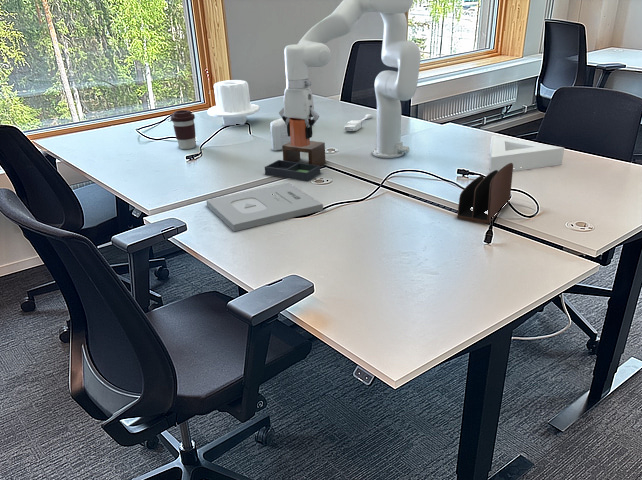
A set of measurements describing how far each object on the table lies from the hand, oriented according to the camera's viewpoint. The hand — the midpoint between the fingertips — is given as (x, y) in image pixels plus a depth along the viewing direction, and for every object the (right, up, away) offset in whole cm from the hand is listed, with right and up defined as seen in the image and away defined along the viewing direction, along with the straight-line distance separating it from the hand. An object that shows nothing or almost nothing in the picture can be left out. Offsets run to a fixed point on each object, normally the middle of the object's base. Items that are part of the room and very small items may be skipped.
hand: (299, 136), depth 207 cm
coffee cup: (-52, +8, +45) cm, 69 cm away
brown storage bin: (+1, -6, +19) cm, 20 cm away
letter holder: (+59, -31, -27) cm, 71 cm away
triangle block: (+77, -8, +11) cm, 78 cm away
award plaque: (-10, -29, -19) cm, 36 cm away
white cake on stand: (-37, +29, +80) cm, 93 cm away
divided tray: (-3, -11, +9) cm, 15 cm away
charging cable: (+24, +25, +69) cm, 77 cm away
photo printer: (-9, +6, +39) cm, 41 cm away
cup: (0, -2, +1) cm, 3 cm away
